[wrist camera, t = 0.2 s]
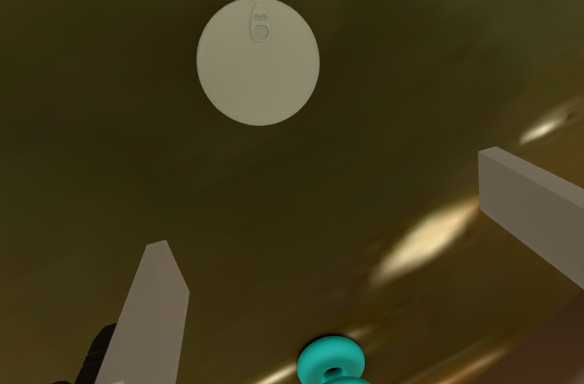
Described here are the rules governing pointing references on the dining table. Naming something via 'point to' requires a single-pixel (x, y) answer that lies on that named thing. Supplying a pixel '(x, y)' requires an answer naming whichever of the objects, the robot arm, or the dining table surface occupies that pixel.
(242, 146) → the dining table surface
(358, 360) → the donuts
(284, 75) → the can
